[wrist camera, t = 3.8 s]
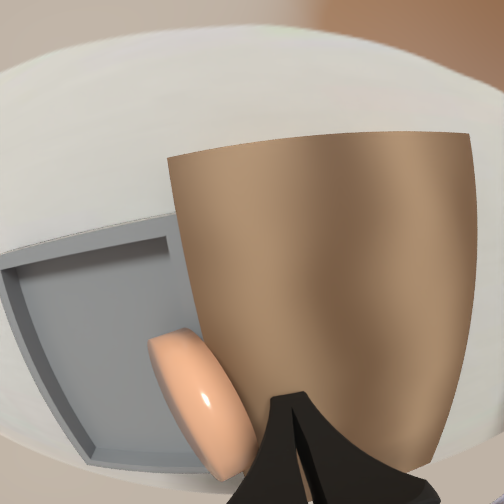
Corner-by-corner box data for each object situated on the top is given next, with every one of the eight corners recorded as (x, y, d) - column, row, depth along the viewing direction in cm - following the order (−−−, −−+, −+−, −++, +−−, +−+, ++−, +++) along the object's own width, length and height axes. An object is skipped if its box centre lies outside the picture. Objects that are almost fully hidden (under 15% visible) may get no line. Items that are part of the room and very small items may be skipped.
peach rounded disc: (240, 368, 8) (192, 389, 8) (269, 489, 10) (238, 506, 9) (166, 309, 14) (136, 319, 13) (199, 415, 16) (175, 425, 15)
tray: (188, 209, 14) (180, 213, 12) (245, 451, 17) (246, 470, 15) (7, 251, 13) (-11, 258, 12) (94, 449, 17) (86, 464, 15)
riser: (421, 141, 13) (469, 133, 9) (408, 428, 17) (430, 462, 14) (187, 166, 13) (166, 158, 9) (253, 466, 17) (256, 509, 13)
